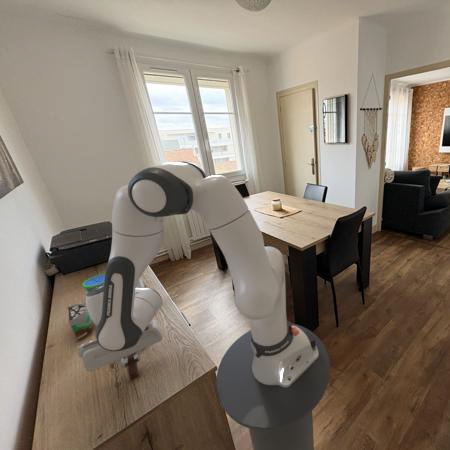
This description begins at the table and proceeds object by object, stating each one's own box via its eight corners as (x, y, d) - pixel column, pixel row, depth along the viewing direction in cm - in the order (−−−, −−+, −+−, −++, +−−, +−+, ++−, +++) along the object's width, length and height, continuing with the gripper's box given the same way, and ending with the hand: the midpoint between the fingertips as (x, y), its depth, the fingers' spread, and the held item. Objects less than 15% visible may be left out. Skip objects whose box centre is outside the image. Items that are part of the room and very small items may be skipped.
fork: (141, 375, 76) (139, 370, 75) (128, 381, 75) (125, 377, 73) (137, 339, 85) (135, 335, 84) (125, 344, 83) (122, 340, 82)
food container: (99, 333, 94) (89, 313, 90) (78, 342, 90) (68, 322, 87) (95, 317, 102) (86, 298, 99) (76, 325, 99) (67, 306, 95)
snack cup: (125, 294, 117) (118, 276, 113) (102, 308, 108) (93, 289, 104) (106, 288, 123) (99, 271, 119) (82, 300, 114) (74, 282, 110)
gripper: (72, 355, 65) (90, 389, 70) (157, 321, 76) (168, 353, 81) (76, 340, 70) (93, 373, 75) (155, 310, 80) (165, 341, 86)
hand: (132, 362), depth 78 cm, fingers closed on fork, 2 cm apart
